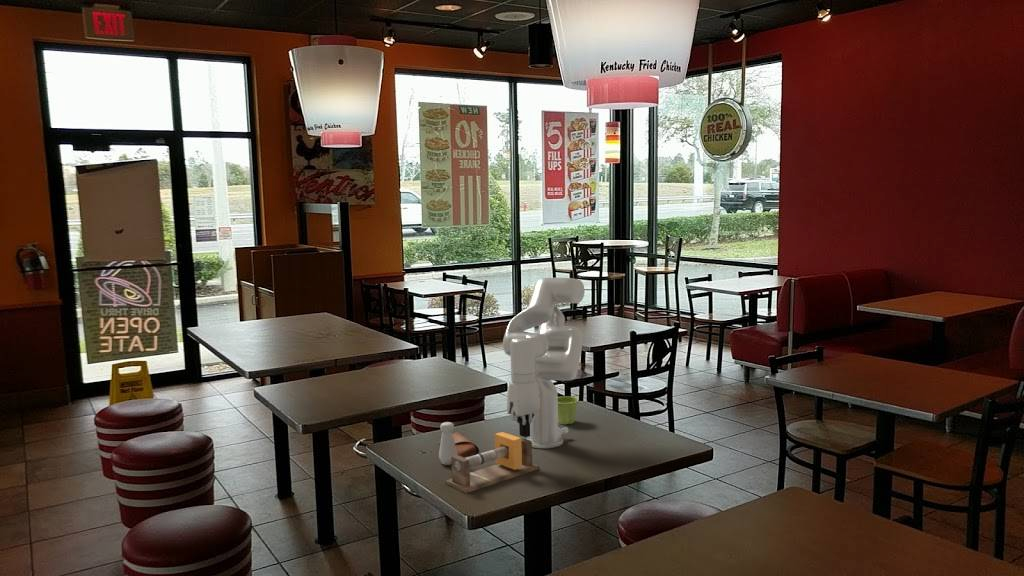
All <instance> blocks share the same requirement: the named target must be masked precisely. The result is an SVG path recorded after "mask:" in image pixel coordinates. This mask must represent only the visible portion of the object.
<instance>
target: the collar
mask: <svg viewBox="0 0 1024 576" xmlns="http://www.w3.org/2000/svg"><path fill="white" fill-rule="evenodd" d="M519 437H520V436H515V435H513V434H510V433H506V432H503V431H500V432H496V433H494V449H497V448H501V447H504V446H508V447H509V456H506V457H503V458H499V459H496V460H494V461H495V463H496V464H501V465H504V466H506V467H509V468H511V469H514V470H515V469H518V468H521V467H522V446H521V438H522V437H521V438H519Z"/></svg>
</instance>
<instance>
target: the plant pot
mask: <svg viewBox="0 0 1024 576" xmlns="http://www.w3.org/2000/svg"><path fill="white" fill-rule="evenodd" d="M578 402H579V398H578V397H575V396H558V424H560V425H563V426H566V425H572V424H574V423H575V421H576V420H575V419H576V412H577V411H576V410H577V404H578Z"/></svg>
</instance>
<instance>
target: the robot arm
mask: <svg viewBox="0 0 1024 576" xmlns="http://www.w3.org/2000/svg"><path fill="white" fill-rule="evenodd" d="M584 296H585V285H584V283H583V281H582V280H581V279H579V278H572V277H543V278H539V279H538V280H537V281H535V284H534V286H533V289H532V292H531V295H530V298H529V301H528V305H527V308H525V309H523V310H522V311H521V312H519V313H518V314H516V315H515V316H514V317H513V318H511V320H510V321H509V323H508V325H507V327H506V329H505V332H504V336H503V339H502V340H503V341H502V351H503V352H504V354H505V355H507V356H509V357H510V378H511V380H510V381H511V382H509V384H508V388H507V398H506V412H507V414H509V415H510V416H509V419H510V420H511V421H516V422H517V424H519V425H518V426H519V428H518V429H519V437H522V438H526V439H527V440H530V441H532V448H534V449H535V448H536V449H555V448H557V447H561V446H562V445H563V444H564V438H563V437H562V435H563V434H567V433H569V428H568V427H567V426H565V427H561V428H560V426H559V422H558V397H559V396H558V395H559V393H558V390H557V388H556V386H555V384H554V383H553V382H552V381H573V380H575V379H576V377H577V375H578V371H579V367H580V362H581V361H580V360H581V355H582V350H583V349H582V348H583V334H582V331H581V330H580V328H578V327H576V326H571V325H565V322H566V318H565V315H564V314H563V312H562V311H561V310H560V308H559V307H558V306H556V305H555V304H579V303H581V302H582V301H583V299H584ZM536 327H538V329H537V332H534V333H533V332H526V331H527V330H529V329H533V328H536Z"/></svg>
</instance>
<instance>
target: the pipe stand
mask: <svg viewBox="0 0 1024 576" xmlns="http://www.w3.org/2000/svg"><path fill="white" fill-rule="evenodd" d="M518 437H519V438H521V446H522V467H521V468H518V469H515V470H514V469H511V468H509V467H506V466H504V465H501V464H498V463H496V464H494V465H490V466H488V467H485V468H481V469H478V470H474V471H472V472H471V470H470V468H473V467H476V466H479V465H483V464H486V463H489V462H492V461H495V460H496V459H499V458H503V457H506V456H509V447H508V446H504V447H501V448H497V449H495V448H494V449H491V450H488V451H485V452H484V451H483V452H481V453H480V452H479V454H476V455H471V456H466V457H461V456H458V455H455V456H452V457H451V461H452V465H451V478H449V479H446V480H445V485H447V486H450V487H451V486H452V487H451V488H454V489H456V490H458V491H460V492H462V491H463V492H462V493H464V492H465V493H464V494H468V492H469V493H472V492H474V491H476V490H479V489H483V488H487V487H490V486H492V485H495V484H498V483H501V482H504V481H507V480H510V479H513V478H516V477H519V476H521V475H525V474H527V473H531V472H533V471H537V470H540V465H538V464H537V463H534V462H533V447H532V441H530V440H527V438H525V437H522V436H518Z"/></svg>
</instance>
